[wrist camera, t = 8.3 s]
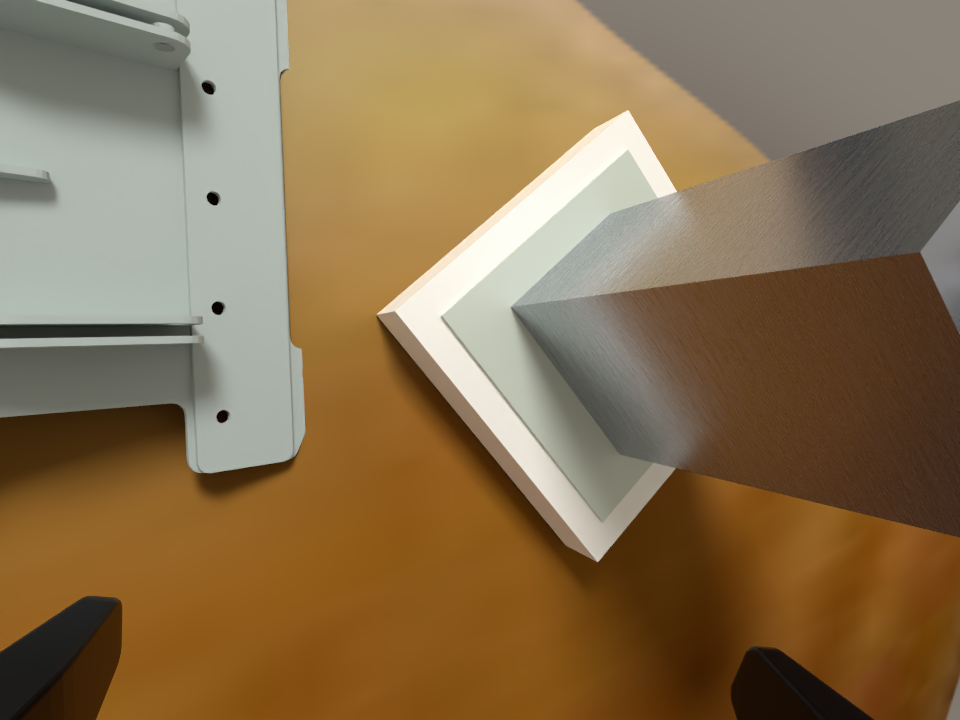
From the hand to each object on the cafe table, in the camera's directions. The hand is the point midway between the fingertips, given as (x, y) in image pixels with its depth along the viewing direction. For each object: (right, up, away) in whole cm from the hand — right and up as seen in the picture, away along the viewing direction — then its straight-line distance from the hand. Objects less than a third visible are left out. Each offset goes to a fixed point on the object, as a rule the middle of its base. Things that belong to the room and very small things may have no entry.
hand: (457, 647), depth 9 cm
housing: (+5, +5, +12) cm, 14 cm away
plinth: (+4, +5, +14) cm, 16 cm away
